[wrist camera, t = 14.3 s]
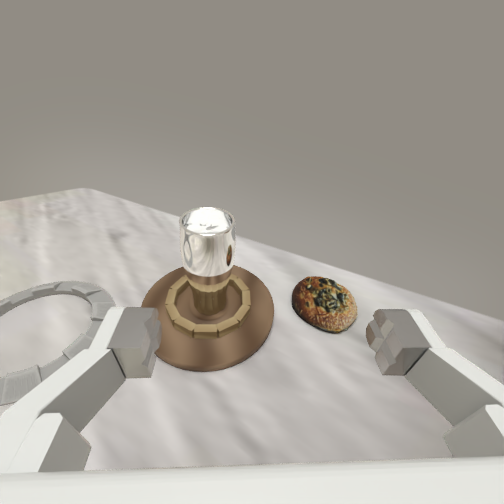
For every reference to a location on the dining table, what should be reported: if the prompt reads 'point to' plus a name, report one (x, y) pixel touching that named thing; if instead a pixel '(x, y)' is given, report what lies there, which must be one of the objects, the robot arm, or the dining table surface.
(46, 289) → the ring
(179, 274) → the round tray
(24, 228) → the dining table surface
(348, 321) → the bread roll
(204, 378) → the dining table surface
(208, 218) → the beer glass
